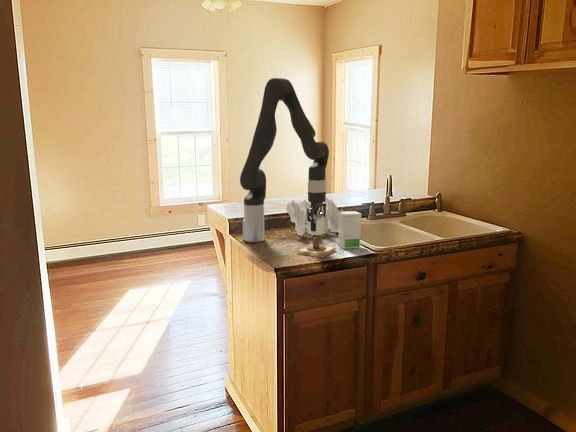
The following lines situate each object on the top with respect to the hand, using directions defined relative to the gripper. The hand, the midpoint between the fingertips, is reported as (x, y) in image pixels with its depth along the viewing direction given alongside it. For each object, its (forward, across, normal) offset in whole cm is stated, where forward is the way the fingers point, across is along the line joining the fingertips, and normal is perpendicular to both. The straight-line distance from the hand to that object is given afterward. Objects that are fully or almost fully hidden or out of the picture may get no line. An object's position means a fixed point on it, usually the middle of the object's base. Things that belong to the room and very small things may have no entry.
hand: (316, 229), depth 214 cm
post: (+10, 0, 0) cm, 10 cm away
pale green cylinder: (+2, 0, 0) cm, 2 cm away
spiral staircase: (+10, -28, -14) cm, 33 cm away
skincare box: (+10, -15, +9) cm, 20 cm away
